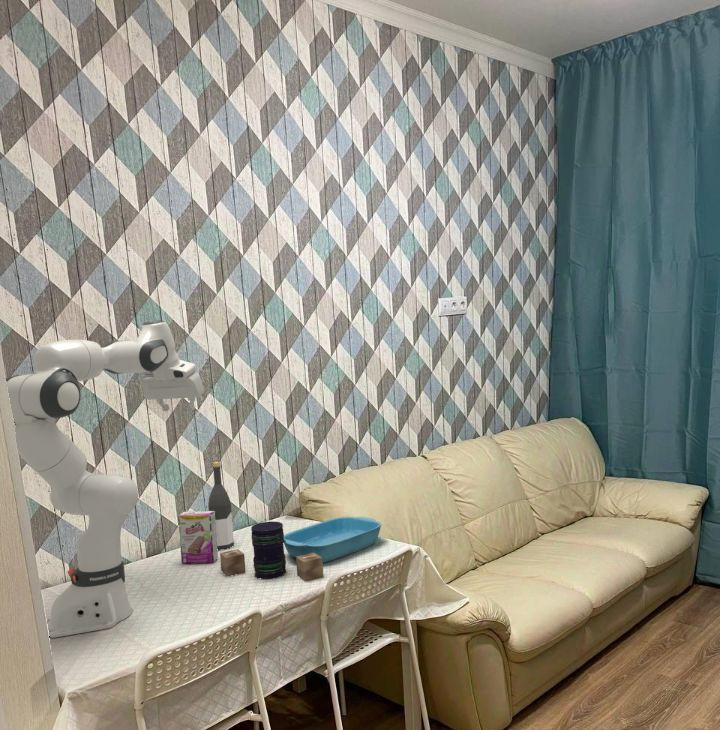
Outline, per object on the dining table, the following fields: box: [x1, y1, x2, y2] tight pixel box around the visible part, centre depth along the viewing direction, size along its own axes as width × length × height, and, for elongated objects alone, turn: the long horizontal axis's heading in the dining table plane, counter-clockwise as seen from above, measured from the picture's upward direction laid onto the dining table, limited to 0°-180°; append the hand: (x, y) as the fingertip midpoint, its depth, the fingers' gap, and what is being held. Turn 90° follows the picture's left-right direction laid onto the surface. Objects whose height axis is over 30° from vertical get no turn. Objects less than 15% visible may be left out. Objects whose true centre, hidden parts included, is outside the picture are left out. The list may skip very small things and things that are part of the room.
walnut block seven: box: [219, 548, 246, 577], centre depth 220 cm, size 6×6×6 cm
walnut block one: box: [295, 553, 324, 583], centre depth 211 cm, size 6×6×6 cm
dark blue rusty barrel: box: [250, 521, 287, 580], centre depth 216 cm, size 10×10×15 cm
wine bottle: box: [207, 461, 235, 550], centre depth 246 cm, size 8×8×30 cm
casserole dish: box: [283, 516, 382, 564], centre depth 236 cm, size 37×22×7 cm, turn 137°
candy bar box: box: [177, 510, 219, 565], centre depth 232 cm, size 11×5×16 cm, turn 84°
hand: (179, 409), depth 223 cm, fingers open, 8 cm apart
